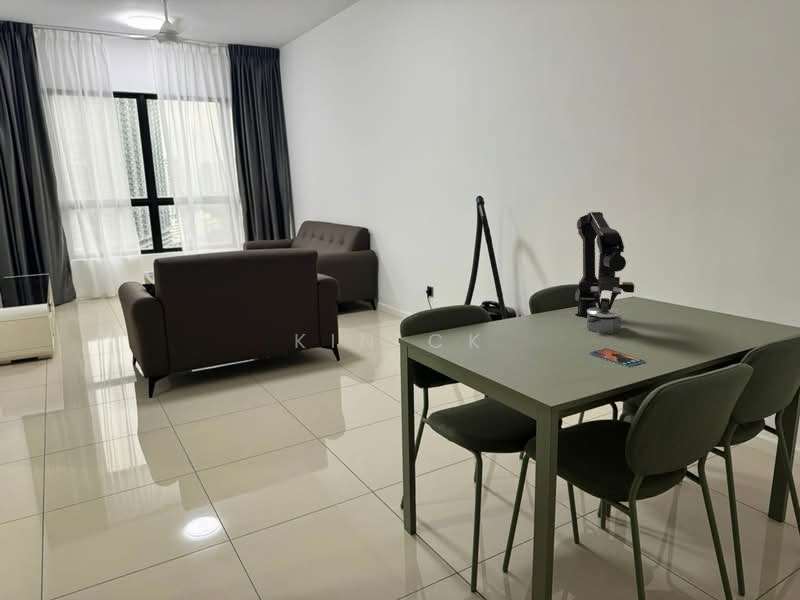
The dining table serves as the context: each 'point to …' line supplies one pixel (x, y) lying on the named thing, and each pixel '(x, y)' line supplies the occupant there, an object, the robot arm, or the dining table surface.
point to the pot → (603, 324)
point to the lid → (604, 310)
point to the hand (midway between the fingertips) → (604, 309)
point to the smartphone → (617, 357)
